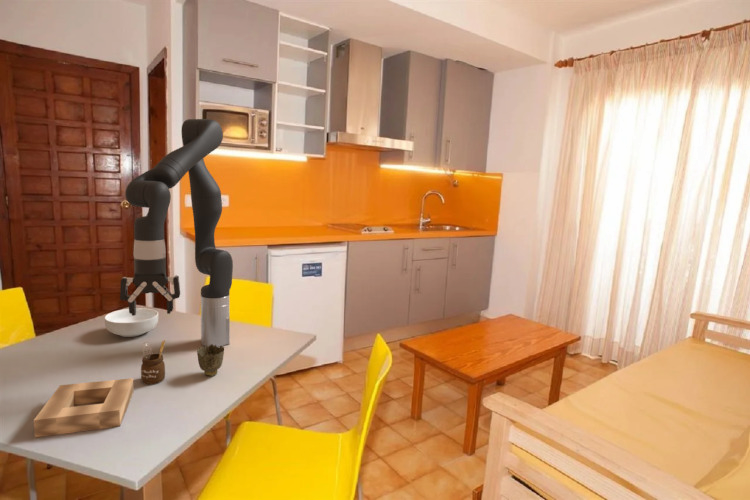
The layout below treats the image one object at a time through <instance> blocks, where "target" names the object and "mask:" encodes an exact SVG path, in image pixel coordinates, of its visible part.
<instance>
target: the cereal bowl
mask: <svg viewBox="0 0 750 500" xmlns="http://www.w3.org/2000/svg"><path fill="white" fill-rule="evenodd" d="M158 322H159V312H158V311H157V310H155V309H152V308H144V307H143V308H142V307H140V308H137V307H136V315H134V316H132V314H130V313H129V308H124V309H118V310H115V311H112V312H109V313H107V314H106V315H105V316H104V326H105V328H106V330H107V331H108V332H109V333H112V334H114V335H118V336H120V337H123V338H134V337H139V336H141V335H144V334H145V333H147V332H150V331H152V330H153V329H154V328H155V327H156V326H157V325H158Z"/></svg>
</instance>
